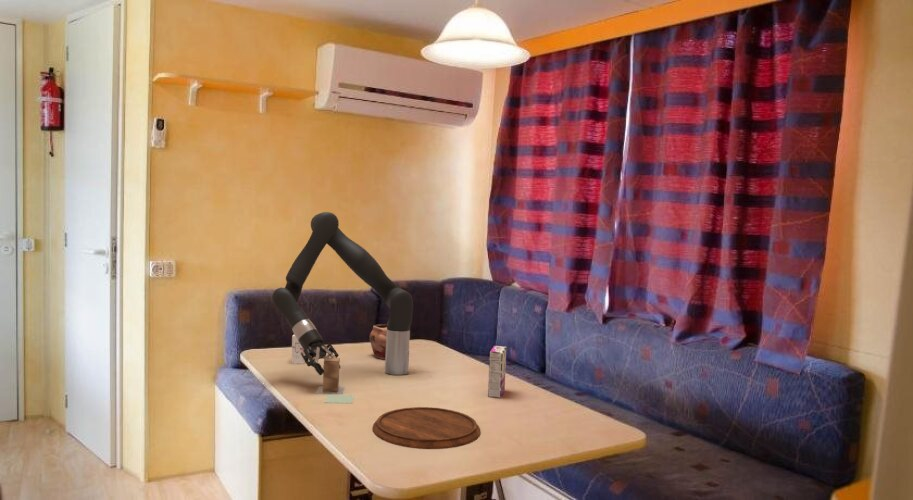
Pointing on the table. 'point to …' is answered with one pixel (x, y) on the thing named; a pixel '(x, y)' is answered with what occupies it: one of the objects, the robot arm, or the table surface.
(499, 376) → the candy bar box
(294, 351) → the ink cartridge box
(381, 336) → the decorative planter
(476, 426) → the cutting board
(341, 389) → the tile
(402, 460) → the table surface
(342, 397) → the sage mat
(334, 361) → the walnut block
